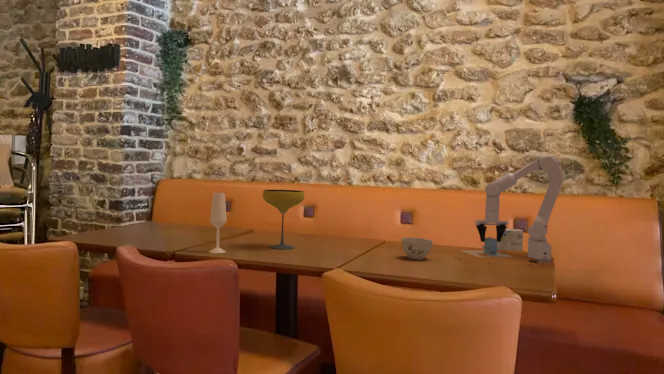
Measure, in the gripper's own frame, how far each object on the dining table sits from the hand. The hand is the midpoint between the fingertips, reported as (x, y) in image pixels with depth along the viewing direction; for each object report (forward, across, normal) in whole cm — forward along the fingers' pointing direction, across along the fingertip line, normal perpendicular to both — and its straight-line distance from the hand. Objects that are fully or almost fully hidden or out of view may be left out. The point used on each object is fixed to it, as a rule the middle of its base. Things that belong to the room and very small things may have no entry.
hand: (490, 241), depth 234 cm
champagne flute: (+7, +116, -12) cm, 117 cm away
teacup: (+6, +36, +5) cm, 37 cm away
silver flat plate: (+6, +4, +3) cm, 8 cm away
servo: (+5, 0, 0) cm, 5 cm away
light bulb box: (+6, -14, -8) cm, 17 cm away
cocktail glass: (+7, +88, -23) cm, 91 cm away
